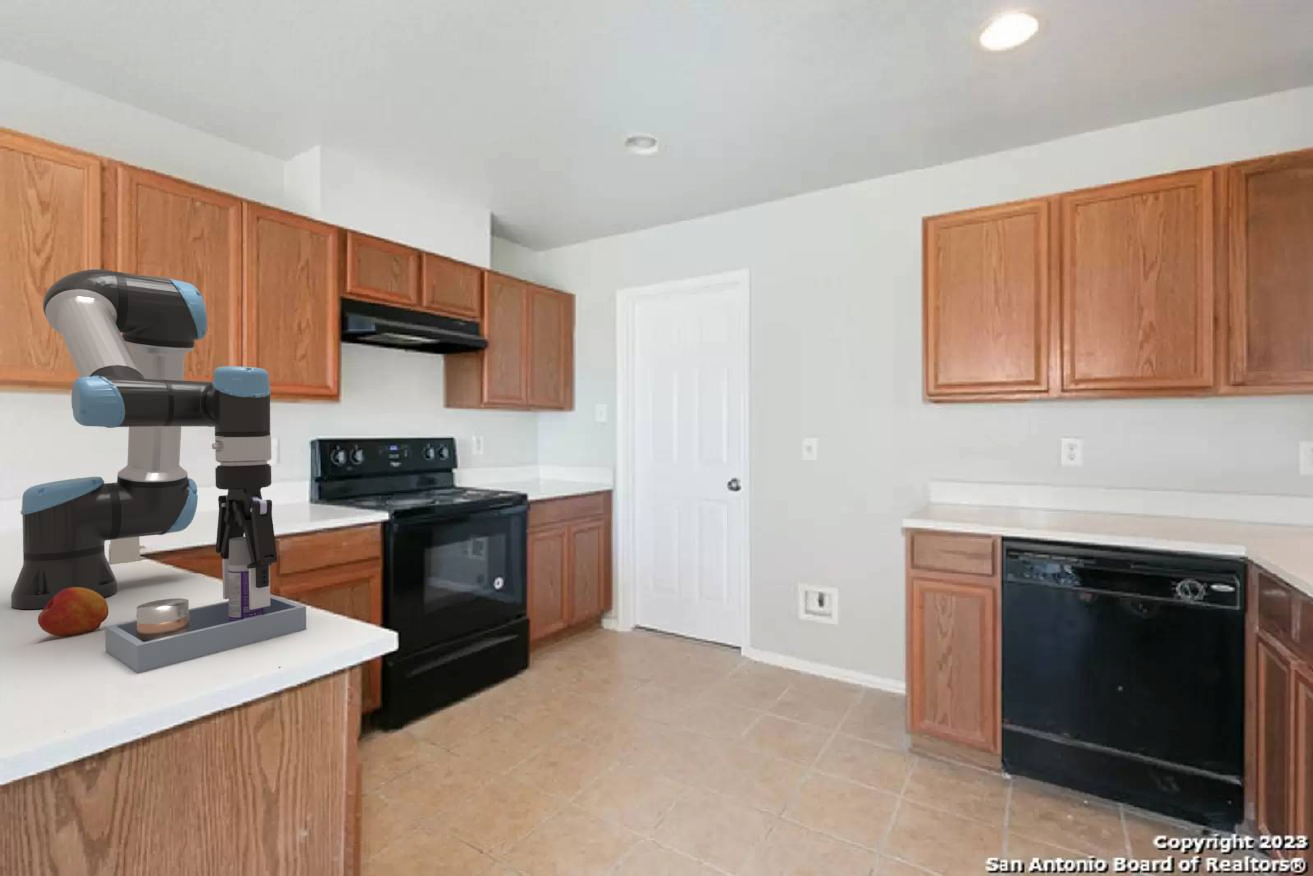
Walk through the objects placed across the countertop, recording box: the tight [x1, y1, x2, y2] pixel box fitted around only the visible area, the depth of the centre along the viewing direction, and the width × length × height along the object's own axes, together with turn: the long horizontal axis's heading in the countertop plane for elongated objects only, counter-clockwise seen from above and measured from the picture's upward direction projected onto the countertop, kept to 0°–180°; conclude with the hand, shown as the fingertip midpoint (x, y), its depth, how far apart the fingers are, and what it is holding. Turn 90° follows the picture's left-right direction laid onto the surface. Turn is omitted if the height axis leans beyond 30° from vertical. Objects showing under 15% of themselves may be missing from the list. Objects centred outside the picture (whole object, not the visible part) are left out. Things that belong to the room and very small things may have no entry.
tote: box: [104, 593, 307, 674], centre depth 98 cm, size 14×22×4 cm, turn 145°
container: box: [228, 536, 263, 622], centre depth 102 cm, size 5×5×15 cm
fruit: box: [37, 587, 109, 638], centre depth 102 cm, size 8×8×8 cm
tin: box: [136, 597, 190, 642], centre depth 93 cm, size 6×6×7 cm
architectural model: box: [108, 537, 147, 566], centre depth 156 cm, size 3×7×7 cm, turn 136°
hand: (246, 602), depth 102 cm, fingers open, 9 cm apart
